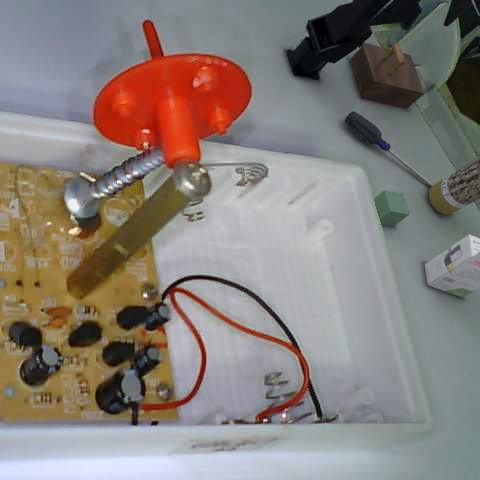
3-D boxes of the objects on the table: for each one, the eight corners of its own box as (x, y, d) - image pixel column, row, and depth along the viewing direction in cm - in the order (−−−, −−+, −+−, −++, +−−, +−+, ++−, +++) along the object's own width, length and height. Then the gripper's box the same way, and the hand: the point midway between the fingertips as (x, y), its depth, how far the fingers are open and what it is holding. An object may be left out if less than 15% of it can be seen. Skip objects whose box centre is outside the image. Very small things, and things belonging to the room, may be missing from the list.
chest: (361, 98, 165) (375, 84, 161) (349, 59, 170) (363, 44, 166) (406, 109, 170) (422, 95, 166) (394, 71, 175) (408, 57, 171)
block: (374, 223, 147) (390, 211, 144) (368, 202, 150) (384, 190, 146) (393, 226, 149) (409, 214, 146) (387, 205, 152) (403, 193, 148)
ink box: (459, 276, 151) (519, 239, 139) (462, 298, 148) (524, 263, 137) (423, 262, 148) (481, 224, 137) (425, 285, 145) (485, 248, 134)
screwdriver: (443, 190, 162) (456, 180, 159) (440, 201, 160) (454, 192, 157) (342, 117, 159) (354, 105, 156) (338, 127, 157) (349, 116, 154)
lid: (372, 83, 161) (389, 67, 157) (360, 43, 166) (375, 27, 162) (422, 95, 166) (439, 80, 163) (408, 57, 171) (424, 41, 168)
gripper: (557, 32, 150) (495, 84, 162) (521, -38, 159) (465, 16, 171) (517, 21, 145) (457, 75, 157) (482, -51, 154) (427, 5, 166)
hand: (452, 42), depth 163 cm, fingers open, 9 cm apart
